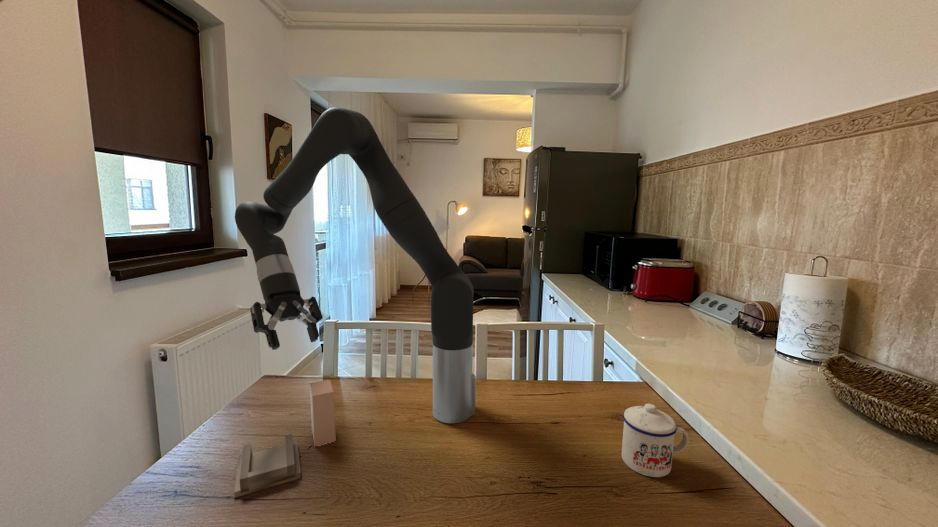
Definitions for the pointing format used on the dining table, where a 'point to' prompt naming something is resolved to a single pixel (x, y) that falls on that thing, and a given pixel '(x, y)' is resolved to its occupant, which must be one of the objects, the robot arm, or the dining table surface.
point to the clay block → (322, 412)
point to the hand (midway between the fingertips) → (296, 344)
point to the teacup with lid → (650, 440)
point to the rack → (267, 467)
